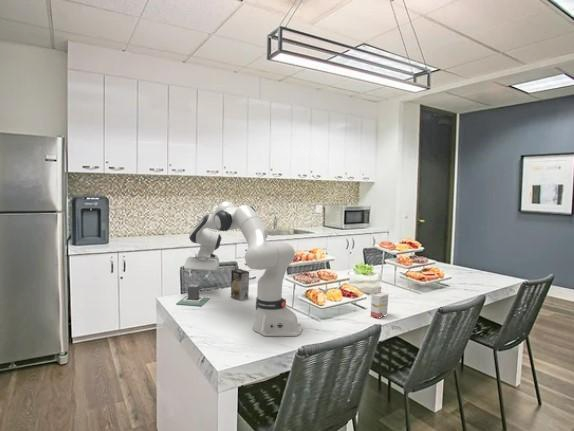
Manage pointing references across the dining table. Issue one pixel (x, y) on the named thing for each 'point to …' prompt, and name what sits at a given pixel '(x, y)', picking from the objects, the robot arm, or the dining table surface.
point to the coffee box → (239, 284)
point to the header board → (193, 301)
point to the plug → (193, 292)
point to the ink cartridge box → (379, 303)
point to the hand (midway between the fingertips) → (198, 277)
